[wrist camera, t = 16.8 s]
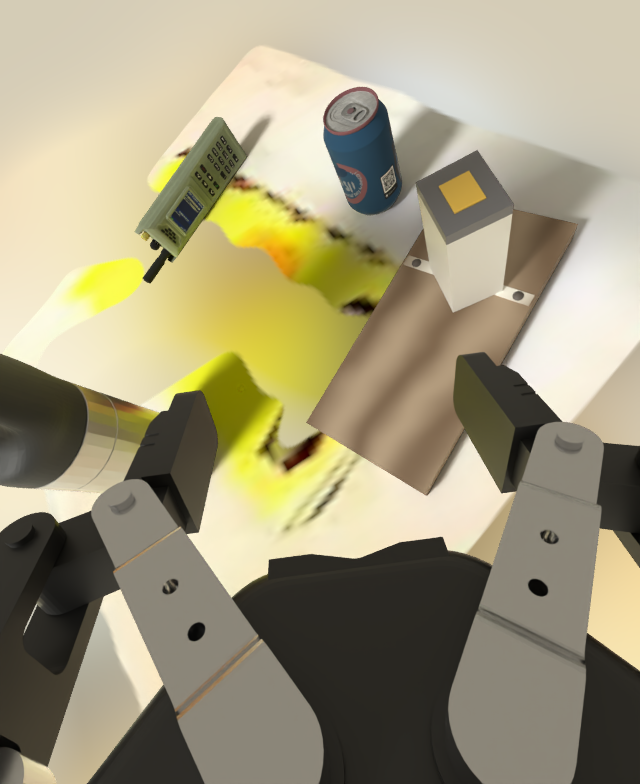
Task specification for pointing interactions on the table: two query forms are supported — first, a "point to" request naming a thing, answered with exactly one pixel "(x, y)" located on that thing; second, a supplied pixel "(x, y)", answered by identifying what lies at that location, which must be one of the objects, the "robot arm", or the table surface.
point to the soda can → (363, 150)
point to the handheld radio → (191, 193)
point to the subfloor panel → (431, 354)
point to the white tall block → (466, 229)
